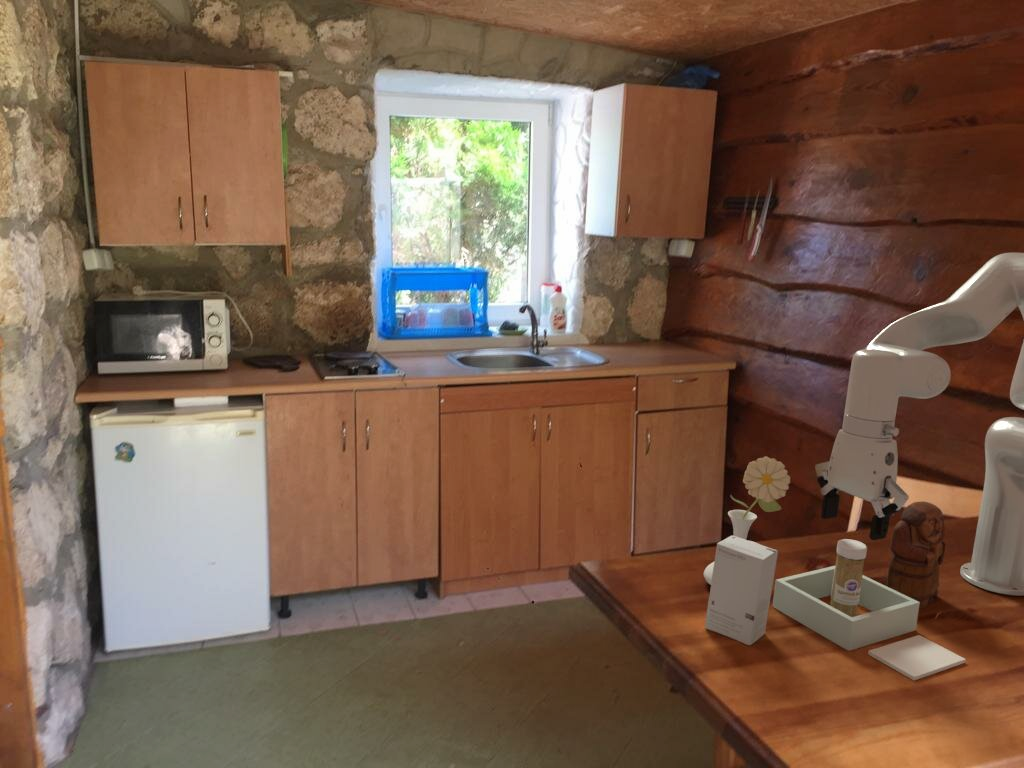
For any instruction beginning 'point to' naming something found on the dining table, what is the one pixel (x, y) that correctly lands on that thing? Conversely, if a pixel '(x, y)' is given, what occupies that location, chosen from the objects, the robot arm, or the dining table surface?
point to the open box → (883, 623)
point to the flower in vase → (757, 496)
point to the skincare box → (741, 589)
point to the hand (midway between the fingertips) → (852, 527)
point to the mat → (916, 657)
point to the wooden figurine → (917, 552)
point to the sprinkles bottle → (848, 576)
